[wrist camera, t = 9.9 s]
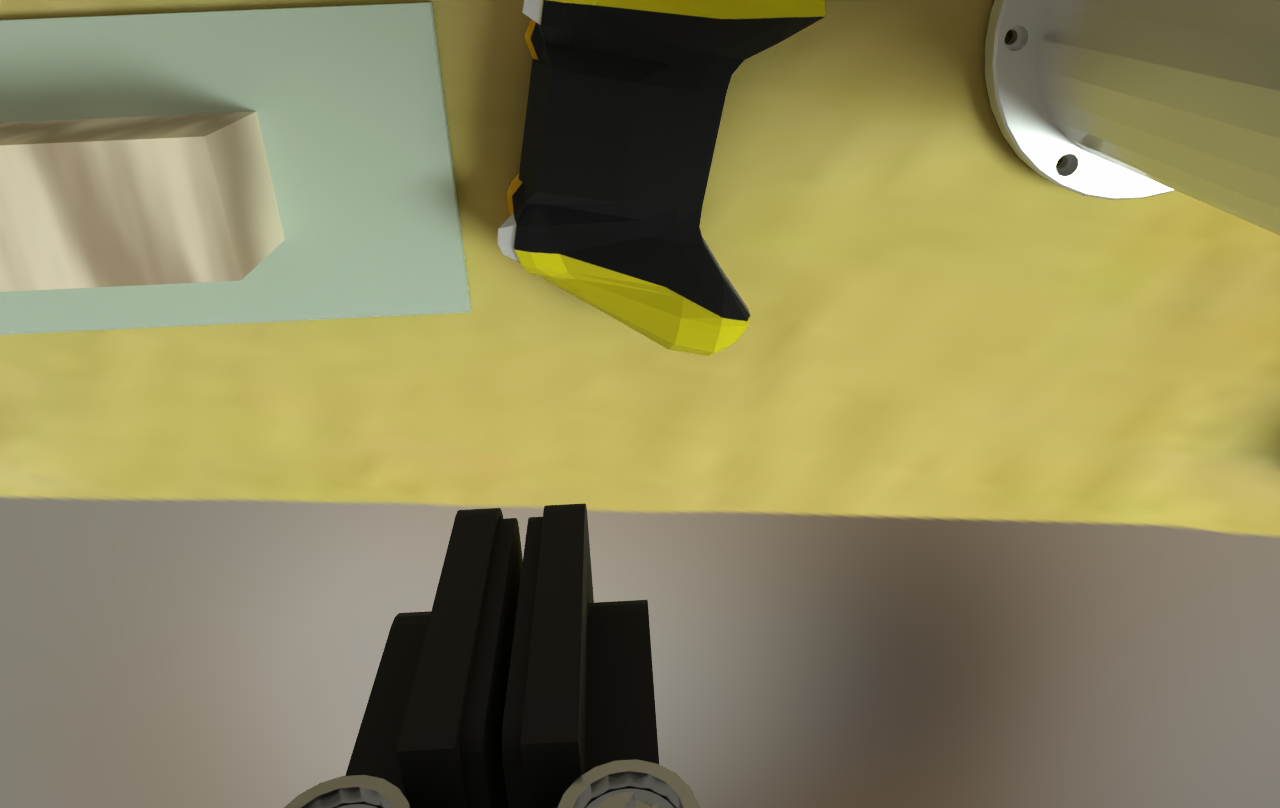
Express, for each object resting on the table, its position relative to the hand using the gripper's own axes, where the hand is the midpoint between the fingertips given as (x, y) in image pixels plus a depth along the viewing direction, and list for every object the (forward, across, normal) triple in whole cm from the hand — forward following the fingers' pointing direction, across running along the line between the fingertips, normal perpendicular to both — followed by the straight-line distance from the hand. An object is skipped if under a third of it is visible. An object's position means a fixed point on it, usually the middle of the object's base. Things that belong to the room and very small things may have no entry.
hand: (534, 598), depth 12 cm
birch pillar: (+24, +12, 0) cm, 27 cm away
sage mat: (+27, +15, 0) cm, 31 cm away
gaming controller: (+28, -3, -1) cm, 28 cm away
